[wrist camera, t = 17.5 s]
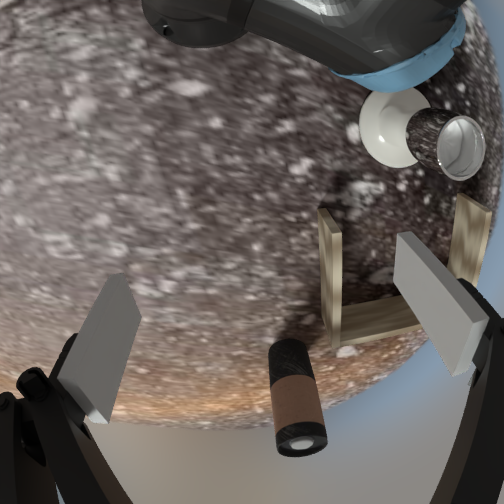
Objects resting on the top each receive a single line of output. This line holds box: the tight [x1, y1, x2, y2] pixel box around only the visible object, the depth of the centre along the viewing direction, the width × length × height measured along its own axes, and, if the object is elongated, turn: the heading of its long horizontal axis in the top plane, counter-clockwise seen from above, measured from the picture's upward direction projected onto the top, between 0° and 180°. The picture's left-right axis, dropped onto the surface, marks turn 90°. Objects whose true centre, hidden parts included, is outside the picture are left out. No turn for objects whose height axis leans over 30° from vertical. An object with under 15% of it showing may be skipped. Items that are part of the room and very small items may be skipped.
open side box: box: [317, 193, 492, 349], centre depth 45 cm, size 19×25×8 cm
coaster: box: [359, 87, 431, 168], centre depth 38 cm, size 12×12×1 cm
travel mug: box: [268, 339, 327, 457], centre depth 48 cm, size 8×8×20 cm
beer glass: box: [378, 104, 485, 181], centre depth 31 cm, size 7×7×15 cm
